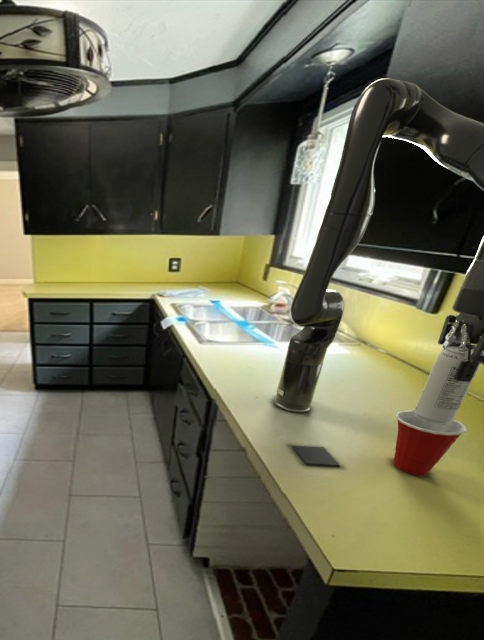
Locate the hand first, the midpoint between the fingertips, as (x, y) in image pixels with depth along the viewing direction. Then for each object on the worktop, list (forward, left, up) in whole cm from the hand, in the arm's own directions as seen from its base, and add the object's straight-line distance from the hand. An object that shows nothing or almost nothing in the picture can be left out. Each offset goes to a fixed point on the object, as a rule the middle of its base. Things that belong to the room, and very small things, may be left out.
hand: (452, 374), depth 71 cm
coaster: (+3, -19, -22) cm, 29 cm away
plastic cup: (0, 0, -22) cm, 22 cm away
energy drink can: (0, 0, -10) cm, 10 cm away
